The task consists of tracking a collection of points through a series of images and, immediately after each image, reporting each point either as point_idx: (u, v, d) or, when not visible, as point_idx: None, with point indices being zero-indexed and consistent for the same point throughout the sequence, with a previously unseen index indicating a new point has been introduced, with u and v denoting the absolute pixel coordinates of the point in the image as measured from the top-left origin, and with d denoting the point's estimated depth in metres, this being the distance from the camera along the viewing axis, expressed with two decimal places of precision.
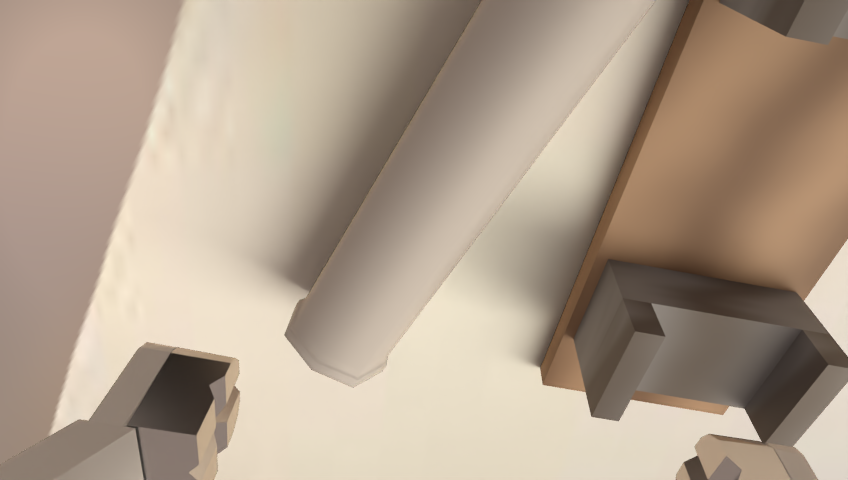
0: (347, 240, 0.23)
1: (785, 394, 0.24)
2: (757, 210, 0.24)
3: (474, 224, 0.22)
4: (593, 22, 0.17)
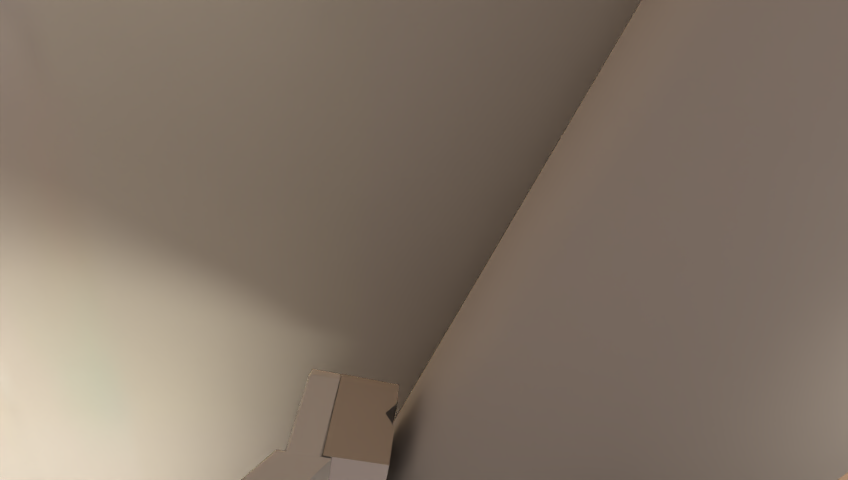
0: None
1: None
2: None
3: None
4: None
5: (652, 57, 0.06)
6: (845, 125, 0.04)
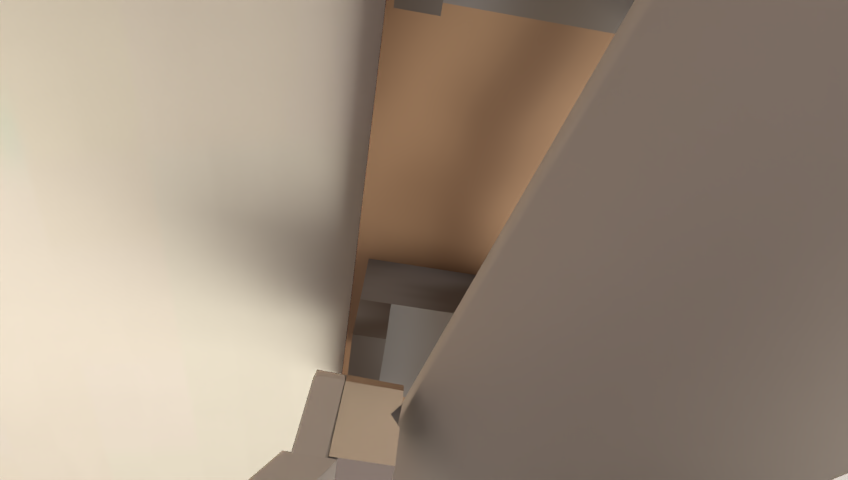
0: None
1: None
2: (507, 203, 0.22)
3: None
4: (813, 414, 0.05)
5: (616, 47, 0.05)
6: (756, 155, 0.04)
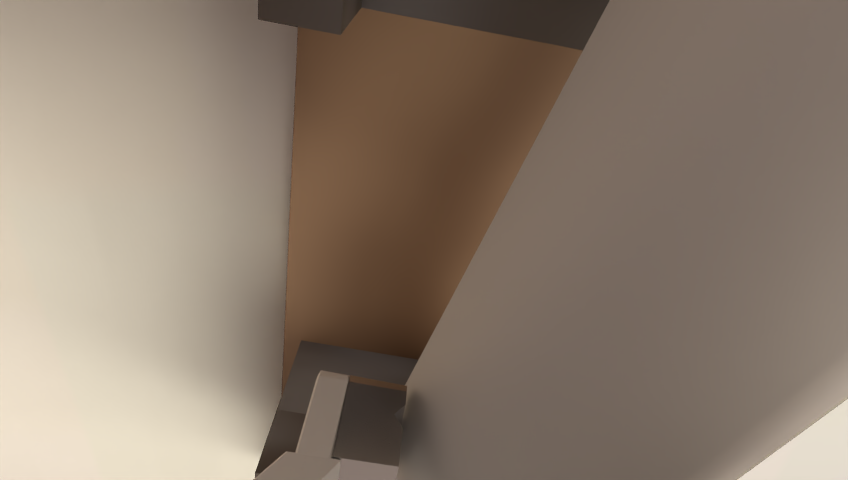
0: None
1: None
2: None
3: None
4: (774, 320, 0.05)
5: None
6: (712, 57, 0.05)
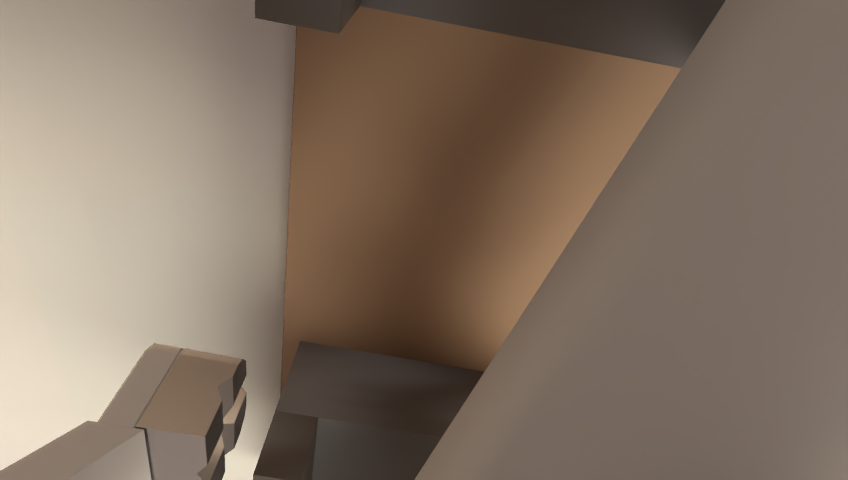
0: None
1: None
2: (483, 279, 0.16)
3: None
4: None
5: (744, 70, 0.05)
6: None
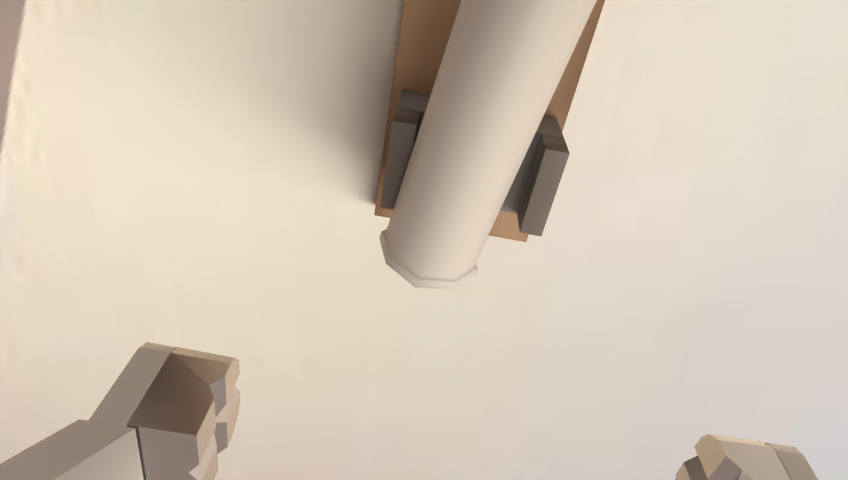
0: (415, 142, 0.27)
1: (530, 186, 0.30)
2: None
3: (498, 114, 0.23)
4: None
5: None
6: None
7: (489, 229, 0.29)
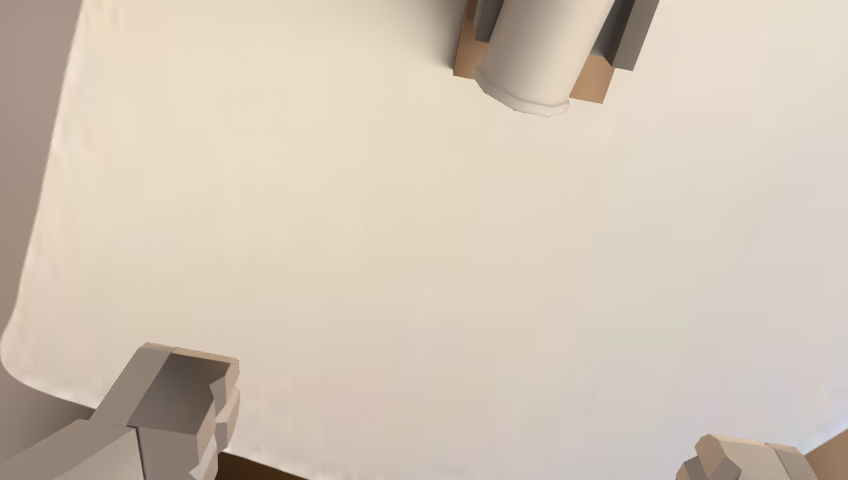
0: None
1: (624, 17, 0.30)
2: None
3: None
4: None
5: None
6: None
7: (587, 54, 0.29)
